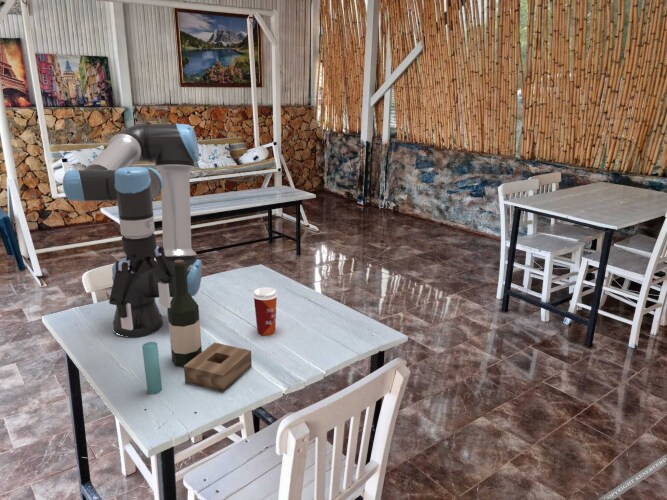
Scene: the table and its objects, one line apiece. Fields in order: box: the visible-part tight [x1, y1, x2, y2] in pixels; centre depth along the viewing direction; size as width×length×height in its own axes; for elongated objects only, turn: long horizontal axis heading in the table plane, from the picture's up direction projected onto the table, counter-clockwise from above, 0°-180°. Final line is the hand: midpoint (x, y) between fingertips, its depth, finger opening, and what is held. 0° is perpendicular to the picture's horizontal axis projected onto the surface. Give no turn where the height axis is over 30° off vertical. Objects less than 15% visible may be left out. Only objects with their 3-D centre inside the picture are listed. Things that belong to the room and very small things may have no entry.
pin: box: [141, 341, 163, 395], centre depth 134 cm, size 4×4×13 cm
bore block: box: [183, 342, 253, 394], centre depth 142 cm, size 12×14×5 cm
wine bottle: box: [166, 260, 203, 368], centre depth 146 cm, size 8×8×30 cm
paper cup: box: [252, 286, 279, 337], centre depth 165 cm, size 8×8×14 cm
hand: (147, 317), depth 129 cm, fingers open, 13 cm apart
